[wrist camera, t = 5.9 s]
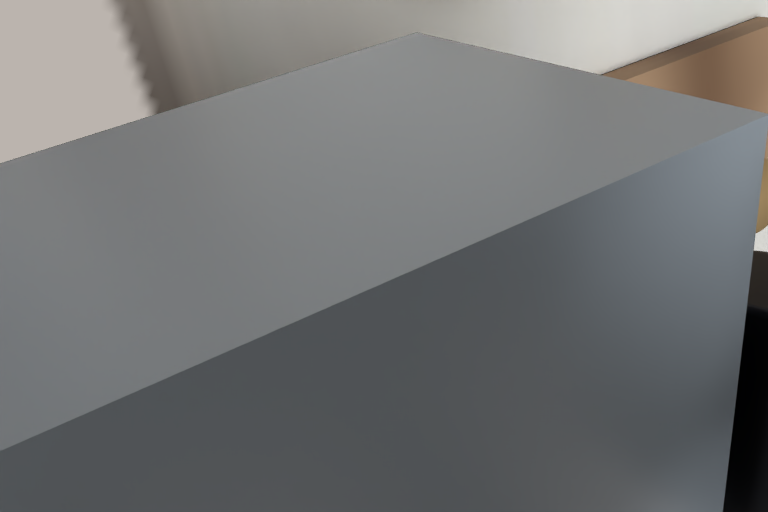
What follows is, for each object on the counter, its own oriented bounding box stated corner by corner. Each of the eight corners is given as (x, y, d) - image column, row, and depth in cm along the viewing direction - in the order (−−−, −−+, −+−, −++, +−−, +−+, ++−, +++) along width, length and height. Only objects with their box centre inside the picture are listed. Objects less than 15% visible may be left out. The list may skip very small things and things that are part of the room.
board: (564, 300, 24) (648, 357, 21) (552, 92, 20) (655, 122, 17) (737, 215, 27) (837, 254, 23) (759, 16, 23) (882, 29, 19)
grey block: (135, 548, 10) (206, 983, 6) (-89, 191, 7) (-284, 575, 3) (472, 376, 11) (710, 614, 7) (416, 32, 8) (768, 113, 4)
